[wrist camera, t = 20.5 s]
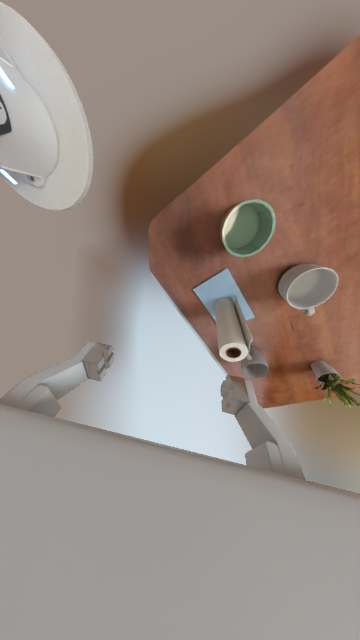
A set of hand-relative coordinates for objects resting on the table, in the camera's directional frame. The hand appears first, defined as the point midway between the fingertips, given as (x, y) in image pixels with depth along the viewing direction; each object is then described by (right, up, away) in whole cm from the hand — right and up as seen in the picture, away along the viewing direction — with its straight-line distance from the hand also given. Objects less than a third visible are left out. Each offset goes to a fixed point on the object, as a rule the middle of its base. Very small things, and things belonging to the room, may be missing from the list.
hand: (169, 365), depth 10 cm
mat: (+16, +9, +39) cm, 43 cm away
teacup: (+34, +14, +33) cm, 50 cm away
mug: (+28, -8, +49) cm, 57 cm away
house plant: (+57, -15, +49) cm, 77 cm away
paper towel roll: (+16, +8, +39) cm, 43 cm away
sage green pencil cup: (+16, +26, +27) cm, 41 cm away
